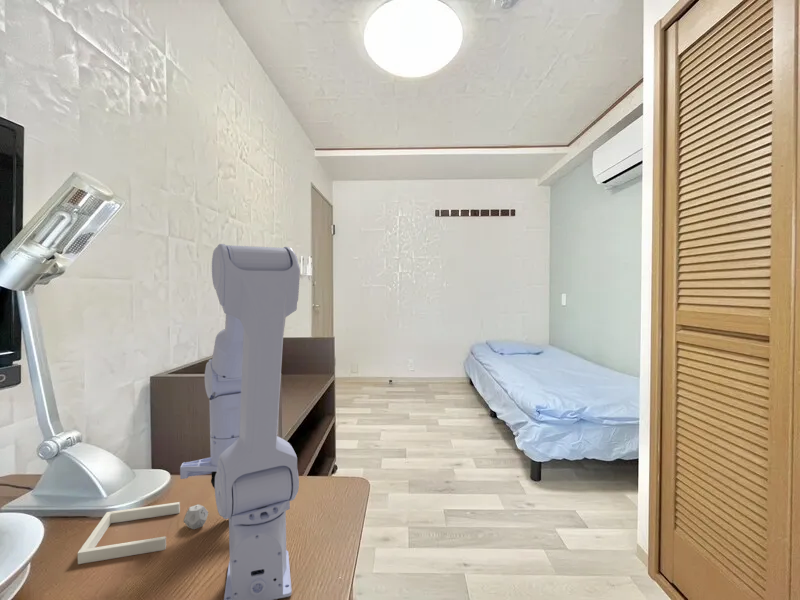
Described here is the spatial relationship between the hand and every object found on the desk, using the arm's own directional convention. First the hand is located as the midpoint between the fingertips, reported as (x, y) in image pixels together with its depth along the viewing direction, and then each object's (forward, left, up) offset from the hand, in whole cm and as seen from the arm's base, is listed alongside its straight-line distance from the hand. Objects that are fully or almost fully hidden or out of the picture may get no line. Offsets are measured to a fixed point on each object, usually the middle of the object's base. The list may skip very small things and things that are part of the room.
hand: (230, 513), depth 73 cm
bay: (0, +14, -1) cm, 14 cm away
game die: (0, +5, -1) cm, 5 cm away
